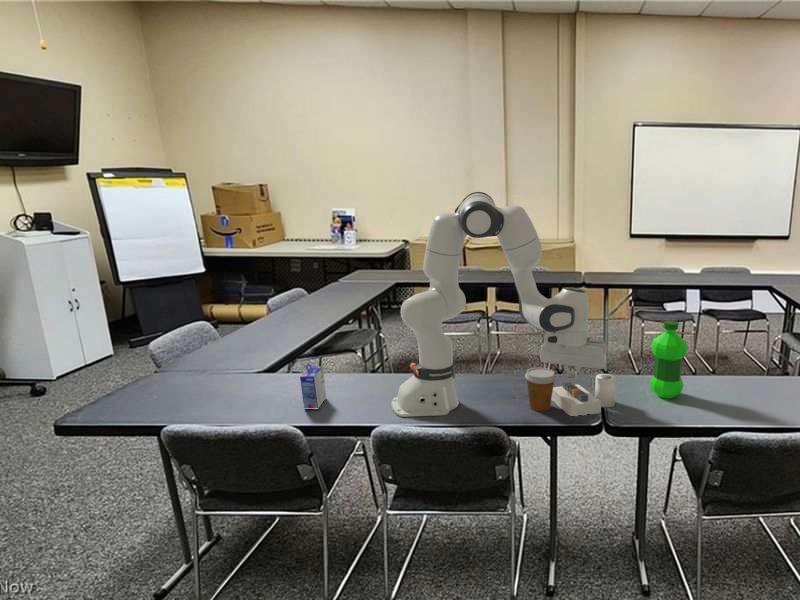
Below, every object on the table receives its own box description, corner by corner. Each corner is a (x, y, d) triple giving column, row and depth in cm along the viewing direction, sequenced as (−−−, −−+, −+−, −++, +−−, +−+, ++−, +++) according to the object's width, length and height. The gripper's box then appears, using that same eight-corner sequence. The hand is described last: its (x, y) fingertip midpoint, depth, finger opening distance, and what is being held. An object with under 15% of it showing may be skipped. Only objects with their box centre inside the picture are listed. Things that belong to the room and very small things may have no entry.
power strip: (570, 417, 159) (571, 398, 158) (539, 389, 180) (539, 373, 179) (600, 413, 161) (601, 395, 159) (566, 386, 182) (566, 370, 181)
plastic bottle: (673, 388, 176) (678, 317, 170) (689, 401, 166) (695, 326, 160) (643, 389, 176) (647, 318, 171) (657, 402, 166) (662, 327, 160)
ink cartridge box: (311, 398, 183) (308, 359, 179) (326, 398, 182) (323, 359, 179) (302, 410, 173) (298, 369, 170) (318, 410, 172) (314, 369, 169)
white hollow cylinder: (601, 408, 164) (602, 381, 162) (591, 400, 170) (592, 374, 168) (618, 406, 165) (619, 379, 163) (607, 398, 171) (609, 372, 169)
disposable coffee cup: (552, 401, 171) (552, 366, 168) (557, 413, 162) (558, 377, 159) (522, 401, 172) (523, 367, 169) (526, 413, 163) (527, 378, 160)
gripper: (609, 337, 164) (607, 378, 167) (543, 331, 173) (542, 370, 176) (606, 343, 158) (604, 385, 161) (539, 336, 167) (538, 376, 171)
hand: (571, 377), depth 169 cm, fingers closed
